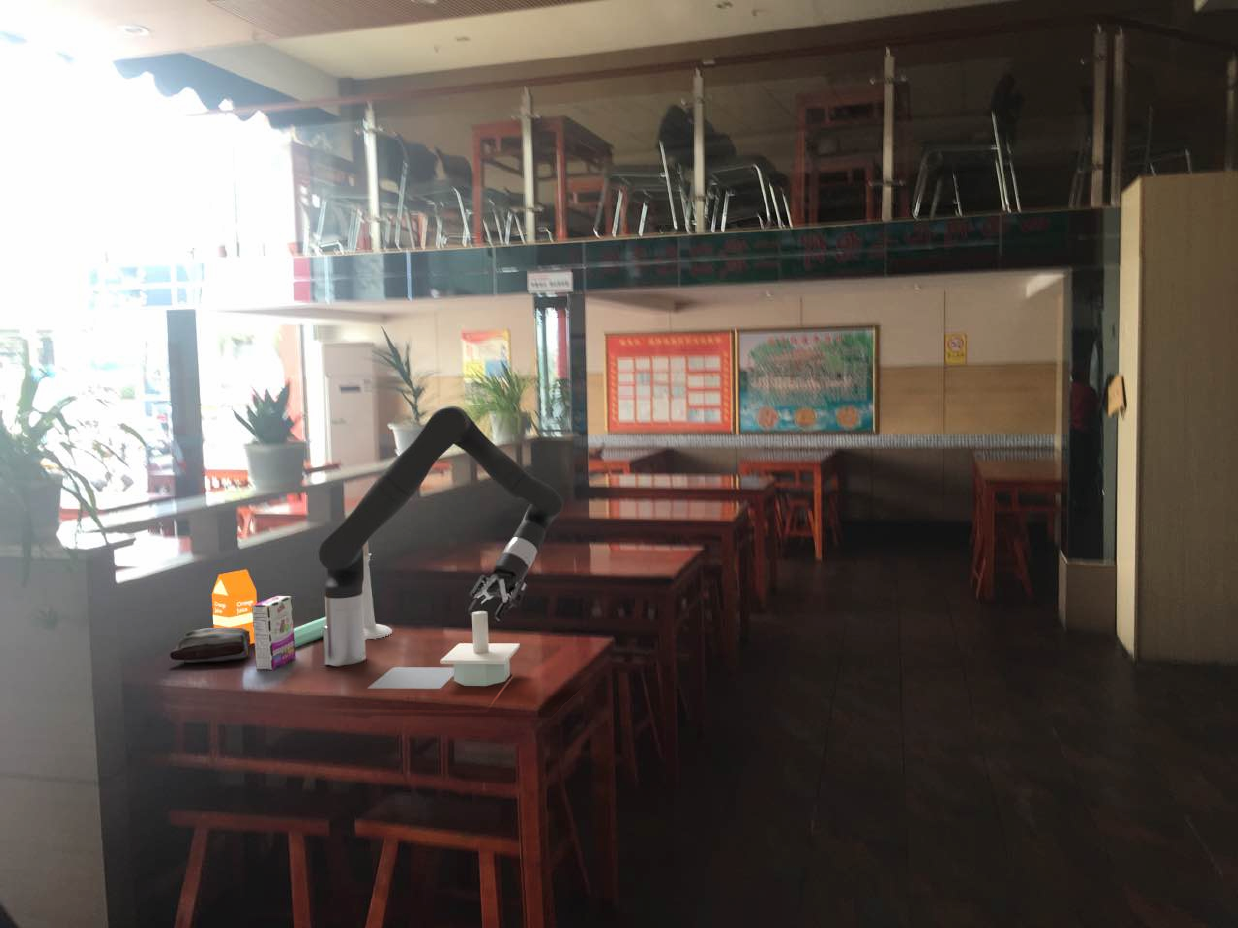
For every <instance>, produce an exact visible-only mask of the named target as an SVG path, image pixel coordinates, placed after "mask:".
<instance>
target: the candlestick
mask: <svg viewBox="0 0 1238 928" xmlns="http://www.w3.org/2000/svg"><path fill="white" fill-rule="evenodd" d="M369 551H370V550H369V539H368V540H367V542H366V543H365V544H364V546H363V558H364V580H363V586H362V594H363V613H364V633H365V641H368V640H367V639H374V640H377V639H376V638H380V639H383V638H382V637H384V638H386V637H385V636H387V637H389V636H391V635H392V634H393V629H391V627H389V626H387V625H385V624H380V623H376V620H375V611H374V599H373V591H372V580H371V572H370V571H371V570H370V565H369V564H370V561H371V558H370V557H371V556H372V553H369ZM390 634H391V635H390ZM388 635H389V636H388Z"/></svg>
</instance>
